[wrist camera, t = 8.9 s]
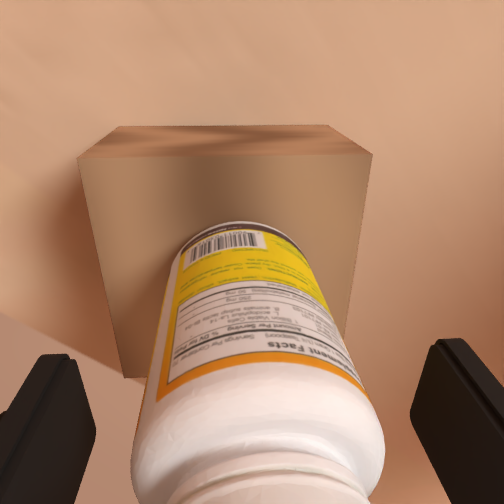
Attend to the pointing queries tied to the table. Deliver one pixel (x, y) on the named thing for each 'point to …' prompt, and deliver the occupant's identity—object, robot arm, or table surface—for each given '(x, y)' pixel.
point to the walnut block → (217, 209)
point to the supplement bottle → (251, 383)
